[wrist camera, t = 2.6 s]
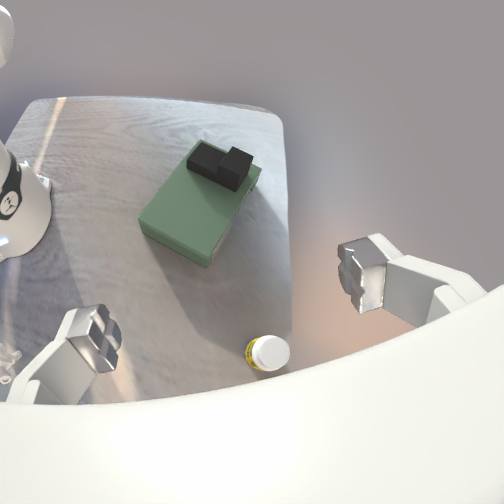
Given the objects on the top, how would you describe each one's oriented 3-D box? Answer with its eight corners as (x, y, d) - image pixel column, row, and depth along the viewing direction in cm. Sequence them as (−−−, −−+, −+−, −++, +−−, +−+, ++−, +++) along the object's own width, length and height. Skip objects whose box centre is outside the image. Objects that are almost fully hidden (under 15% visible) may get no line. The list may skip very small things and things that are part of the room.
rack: (142, 232, 45) (137, 218, 40) (198, 156, 52) (200, 139, 48) (206, 268, 45) (208, 257, 40) (255, 184, 52) (262, 168, 48)
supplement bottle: (242, 339, 42) (253, 335, 34) (273, 336, 43) (290, 331, 35) (245, 371, 40) (258, 374, 33) (276, 367, 41) (295, 368, 34)
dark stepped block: (186, 168, 45) (186, 150, 41) (200, 150, 47) (202, 132, 42) (235, 192, 45) (240, 175, 41) (248, 173, 47) (253, 156, 42)
